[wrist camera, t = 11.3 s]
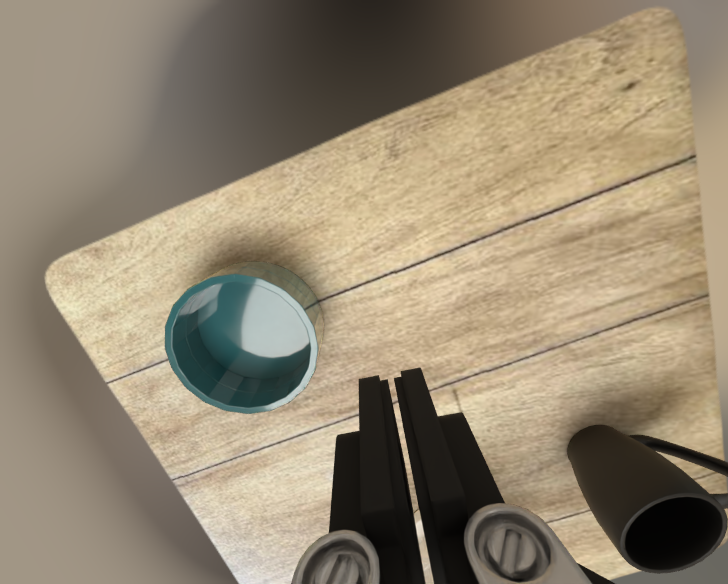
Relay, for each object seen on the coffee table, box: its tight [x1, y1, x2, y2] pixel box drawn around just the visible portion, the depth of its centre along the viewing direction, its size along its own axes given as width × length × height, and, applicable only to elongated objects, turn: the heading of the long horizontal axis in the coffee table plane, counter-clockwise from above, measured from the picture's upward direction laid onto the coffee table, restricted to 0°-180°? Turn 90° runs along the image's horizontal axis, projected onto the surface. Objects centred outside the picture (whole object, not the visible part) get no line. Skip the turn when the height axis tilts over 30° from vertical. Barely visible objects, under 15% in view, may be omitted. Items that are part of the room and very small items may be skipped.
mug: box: [568, 425, 728, 573], centre depth 31 cm, size 8×12×10 cm
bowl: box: [165, 261, 324, 414], centre depth 29 cm, size 12×12×5 cm
